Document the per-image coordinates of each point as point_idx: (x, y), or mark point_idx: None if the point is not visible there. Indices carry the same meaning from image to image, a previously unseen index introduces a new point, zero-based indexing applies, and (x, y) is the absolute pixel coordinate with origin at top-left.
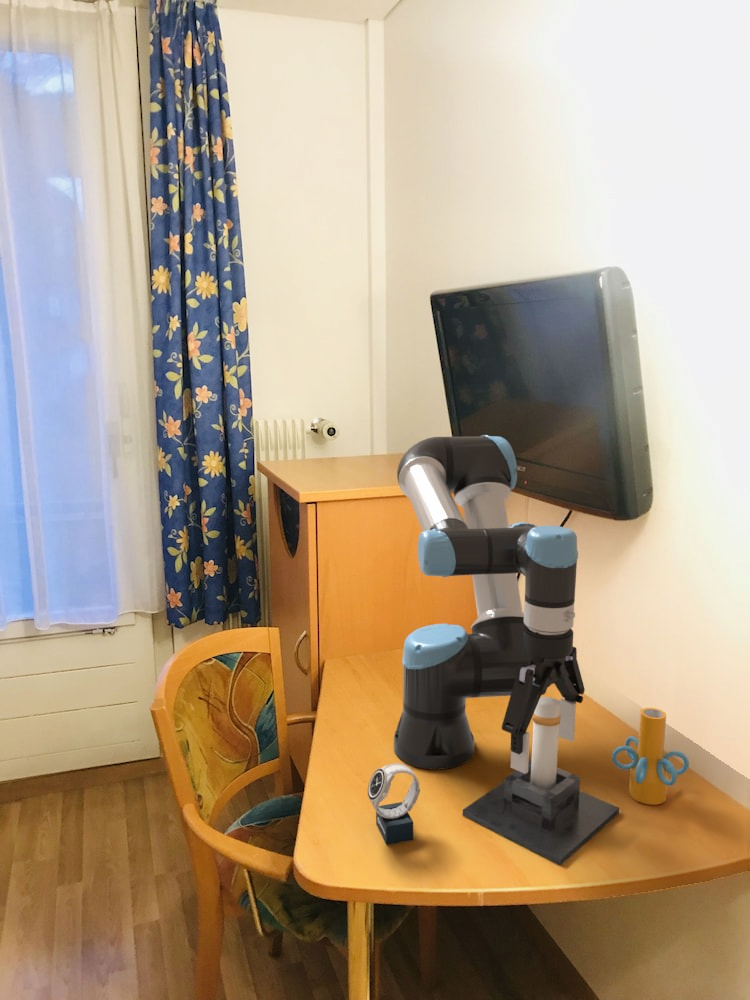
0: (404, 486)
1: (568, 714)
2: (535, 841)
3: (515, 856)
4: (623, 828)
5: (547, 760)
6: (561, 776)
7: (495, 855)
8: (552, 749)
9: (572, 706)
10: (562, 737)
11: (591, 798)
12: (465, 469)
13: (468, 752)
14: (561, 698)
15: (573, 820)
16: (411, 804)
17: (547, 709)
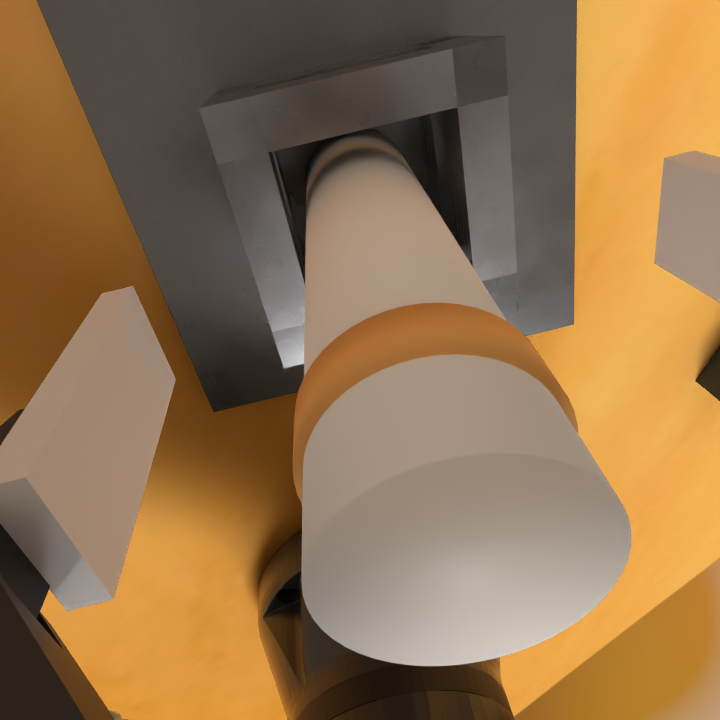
0: None
1: (94, 434)
2: (548, 20)
3: (631, 28)
4: None
5: (430, 211)
6: (276, 185)
7: (672, 81)
8: (415, 224)
9: (42, 470)
10: (161, 350)
11: (107, 112)
12: None
13: None
14: (69, 609)
15: (304, 33)
16: None
17: (591, 457)
